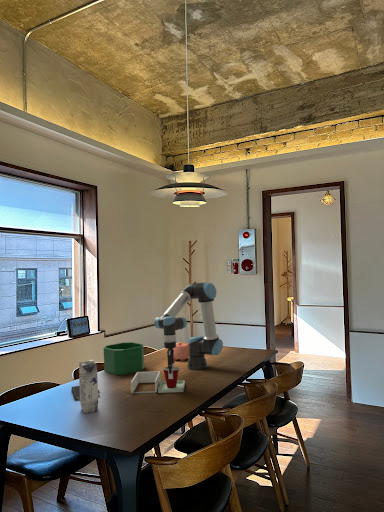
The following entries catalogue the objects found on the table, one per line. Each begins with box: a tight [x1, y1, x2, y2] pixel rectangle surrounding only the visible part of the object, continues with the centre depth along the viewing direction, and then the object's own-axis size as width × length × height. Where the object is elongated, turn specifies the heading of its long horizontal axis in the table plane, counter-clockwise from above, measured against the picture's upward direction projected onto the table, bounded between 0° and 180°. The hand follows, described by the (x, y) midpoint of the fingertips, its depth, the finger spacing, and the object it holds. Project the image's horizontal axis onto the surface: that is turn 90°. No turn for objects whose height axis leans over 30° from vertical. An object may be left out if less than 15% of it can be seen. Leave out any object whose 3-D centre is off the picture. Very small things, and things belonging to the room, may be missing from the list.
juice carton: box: [78, 359, 99, 414], centre depth 217 cm, size 9×10×27 cm
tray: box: [157, 380, 186, 394], centre depth 250 cm, size 18×16×2 cm
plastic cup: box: [162, 366, 180, 388], centre depth 251 cm, size 11×11×12 cm
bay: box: [130, 370, 162, 395], centre depth 254 cm, size 23×16×7 cm
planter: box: [103, 341, 145, 376], centre depth 304 cm, size 26×26×18 cm
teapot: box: [173, 341, 189, 362], centre depth 329 cm, size 22×13×14 cm, turn 71°
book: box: [71, 385, 101, 401], centre depth 247 cm, size 22×15×3 cm
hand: (171, 376), depth 251 cm, fingers closed on plastic cup, 11 cm apart
